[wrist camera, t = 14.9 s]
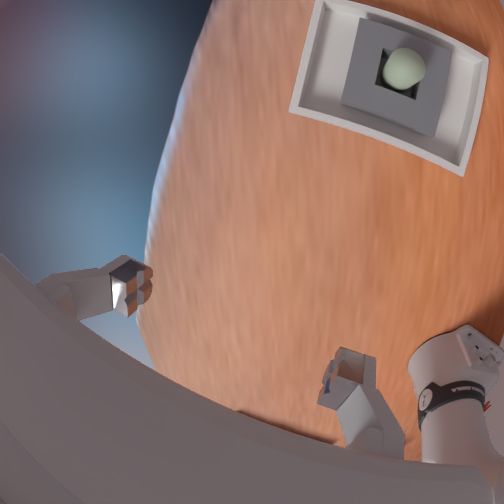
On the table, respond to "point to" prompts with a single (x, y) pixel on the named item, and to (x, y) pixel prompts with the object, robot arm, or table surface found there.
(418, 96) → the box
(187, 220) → the table surface
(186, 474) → the robot arm
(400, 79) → the peg
